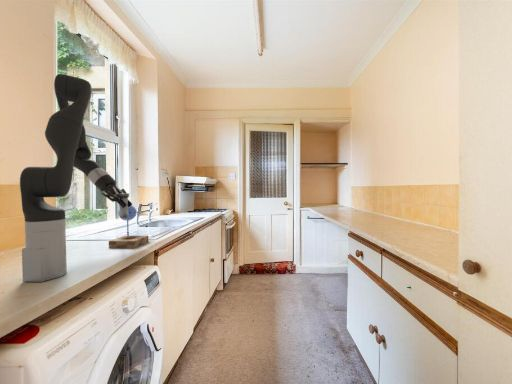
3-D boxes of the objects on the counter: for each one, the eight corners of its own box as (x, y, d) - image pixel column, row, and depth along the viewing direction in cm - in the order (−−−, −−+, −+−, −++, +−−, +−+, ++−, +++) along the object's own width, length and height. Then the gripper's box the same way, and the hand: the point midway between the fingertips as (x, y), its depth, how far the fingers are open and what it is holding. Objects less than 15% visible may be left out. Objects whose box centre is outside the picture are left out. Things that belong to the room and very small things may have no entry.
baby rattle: (119, 237, 128) (118, 204, 128) (137, 236, 132) (136, 203, 131) (117, 241, 120) (117, 205, 120) (136, 239, 124) (136, 204, 123)
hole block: (134, 247, 106) (134, 241, 106) (108, 247, 107) (108, 241, 107) (148, 241, 118) (148, 235, 118) (125, 241, 119) (125, 235, 119)
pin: (125, 218, 107) (125, 193, 107) (115, 218, 108) (114, 193, 107) (131, 216, 112) (131, 193, 112) (122, 216, 112) (121, 193, 112)
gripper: (96, 173, 103) (124, 201, 102) (117, 174, 117) (141, 199, 116) (84, 185, 103) (112, 213, 103) (107, 185, 117) (131, 210, 117)
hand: (127, 206), depth 110 cm, fingers closed on pin, 3 cm apart
